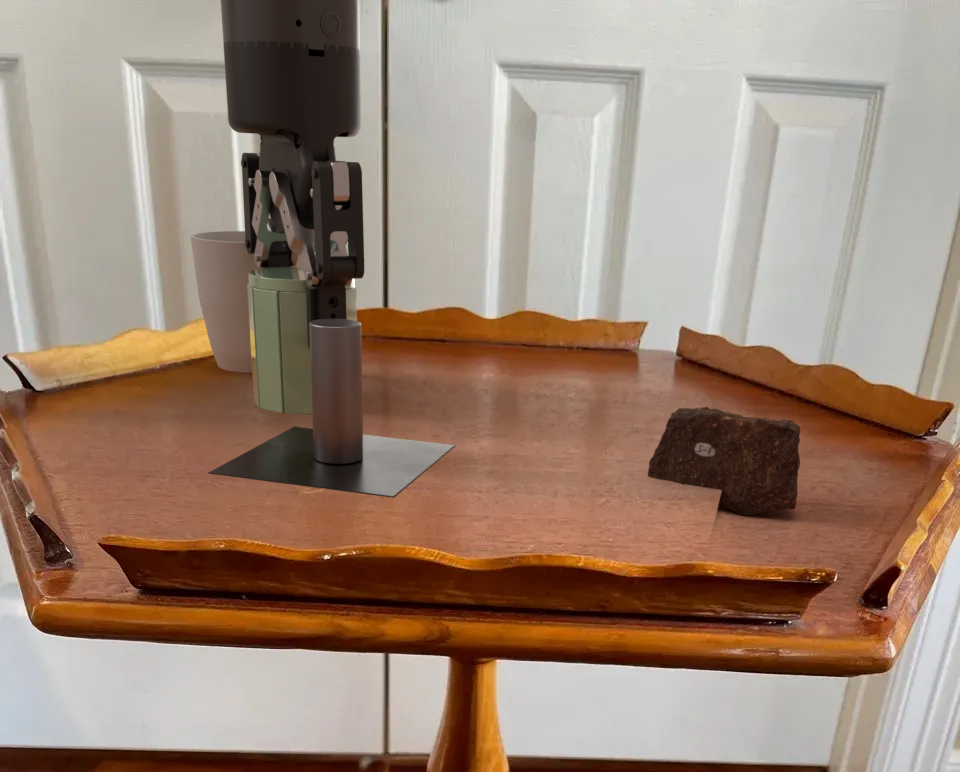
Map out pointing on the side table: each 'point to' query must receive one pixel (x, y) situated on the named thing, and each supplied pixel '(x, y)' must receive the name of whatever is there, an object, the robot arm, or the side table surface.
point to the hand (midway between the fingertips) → (303, 340)
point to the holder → (337, 430)
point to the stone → (731, 458)
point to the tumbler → (283, 338)
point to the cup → (225, 295)
